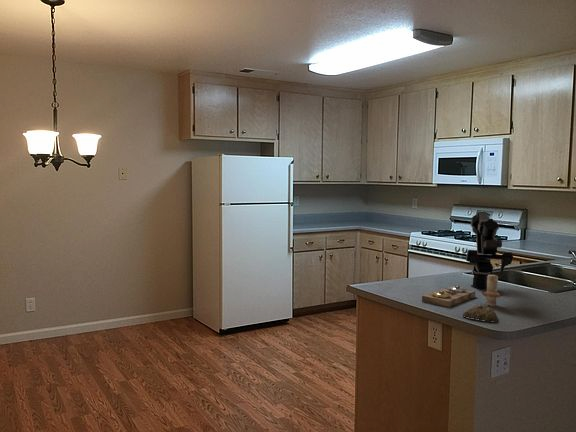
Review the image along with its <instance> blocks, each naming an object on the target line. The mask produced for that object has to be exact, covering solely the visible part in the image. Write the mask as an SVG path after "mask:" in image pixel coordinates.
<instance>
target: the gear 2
mask: <svg viewBox="0 0 576 432" xmlns="http://www.w3.org/2000/svg"><path fill="white" fill-rule="evenodd" d="M447 287H448V291H452V292H459V293H461V292H466V290H468V289H467V288H465V287H463V286H460V285H455V286H454V285H452V286H451V287H450V286H447Z"/></svg>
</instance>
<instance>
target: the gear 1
mask: <svg viewBox="0 0 576 432" xmlns="http://www.w3.org/2000/svg"><path fill="white" fill-rule="evenodd" d="M436 291H437V292H435V291H431V293H432V296H434V297H436V298H443V299H446V298H451V294H449V293H447V292H444V291H438V290H436Z"/></svg>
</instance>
